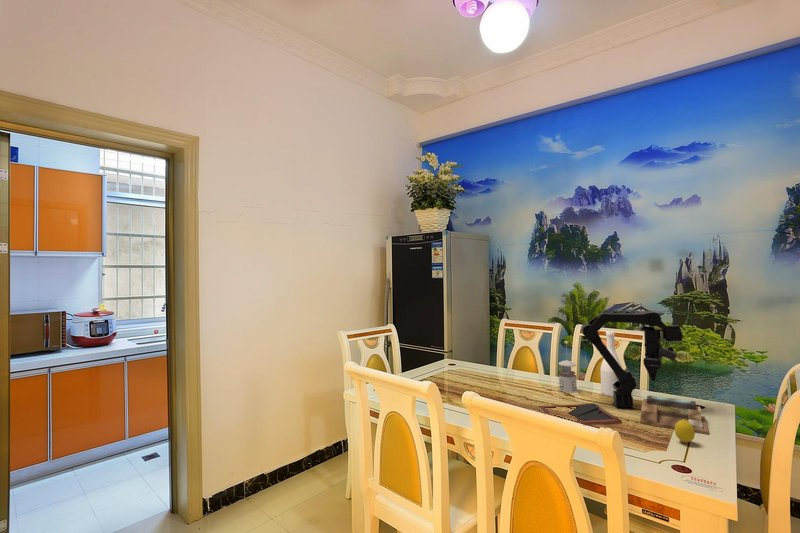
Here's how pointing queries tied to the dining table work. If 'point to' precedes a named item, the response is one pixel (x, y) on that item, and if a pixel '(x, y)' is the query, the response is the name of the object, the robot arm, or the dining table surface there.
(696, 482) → the dining table surface
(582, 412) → the picture frame
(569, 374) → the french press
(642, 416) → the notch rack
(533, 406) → the dining table surface
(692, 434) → the lemon
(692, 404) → the picture frame
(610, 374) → the wine bottle
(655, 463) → the dining table surface
